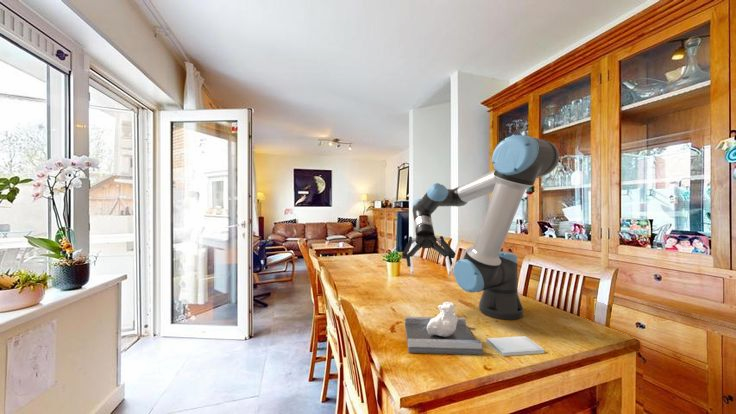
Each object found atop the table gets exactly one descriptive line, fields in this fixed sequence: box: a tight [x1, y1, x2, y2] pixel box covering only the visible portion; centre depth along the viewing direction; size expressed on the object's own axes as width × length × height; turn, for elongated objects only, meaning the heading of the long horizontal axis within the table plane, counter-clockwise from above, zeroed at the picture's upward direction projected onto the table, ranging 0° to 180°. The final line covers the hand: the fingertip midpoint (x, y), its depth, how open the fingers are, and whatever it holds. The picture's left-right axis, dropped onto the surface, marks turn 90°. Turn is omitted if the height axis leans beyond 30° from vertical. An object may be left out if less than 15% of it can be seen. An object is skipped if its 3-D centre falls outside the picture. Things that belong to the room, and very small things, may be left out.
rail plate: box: [404, 316, 484, 356], centre depth 84 cm, size 20×18×3 cm
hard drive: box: [485, 335, 546, 357], centre depth 78 cm, size 2×8×12 cm
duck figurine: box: [427, 301, 458, 337], centre depth 83 cm, size 12×8×11 cm
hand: (431, 273), depth 99 cm, fingers open, 13 cm apart
